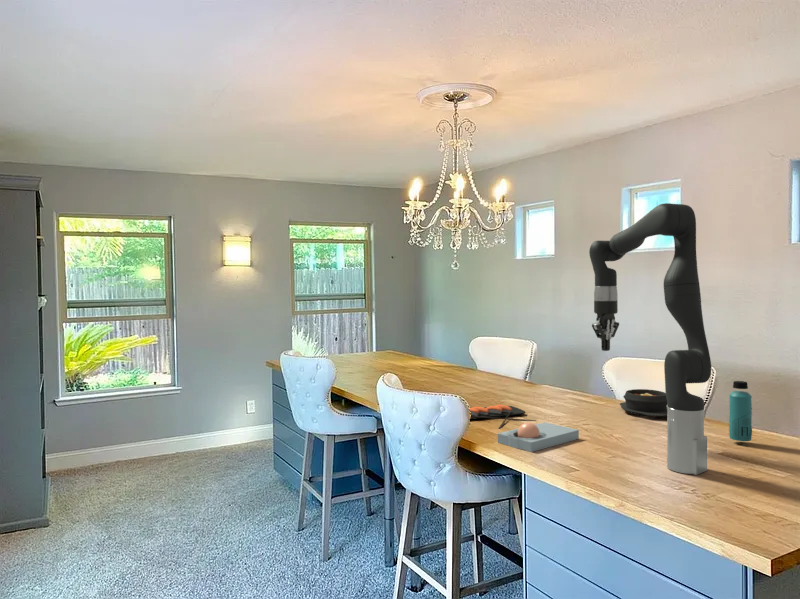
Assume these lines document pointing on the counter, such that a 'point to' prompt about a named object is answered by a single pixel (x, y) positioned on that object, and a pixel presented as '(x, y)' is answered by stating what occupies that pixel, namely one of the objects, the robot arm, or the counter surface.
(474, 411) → the sushi plate
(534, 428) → the ball
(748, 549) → the counter surface
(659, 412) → the casserole
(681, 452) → the robot arm
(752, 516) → the counter surface
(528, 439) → the board
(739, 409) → the beverage bottle
